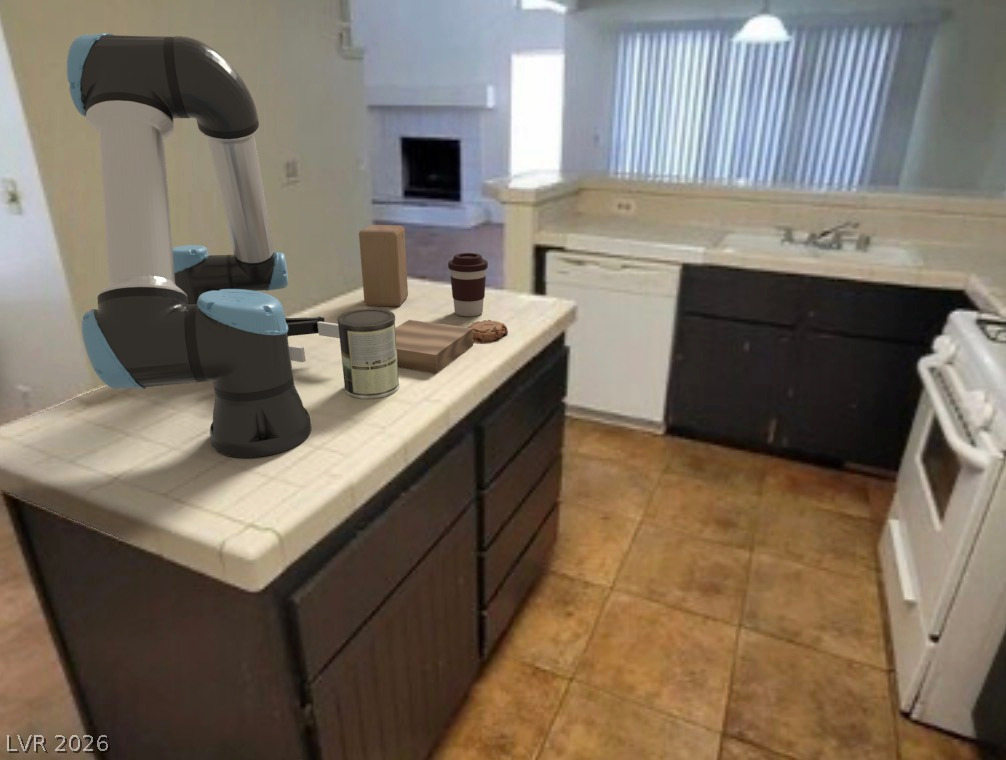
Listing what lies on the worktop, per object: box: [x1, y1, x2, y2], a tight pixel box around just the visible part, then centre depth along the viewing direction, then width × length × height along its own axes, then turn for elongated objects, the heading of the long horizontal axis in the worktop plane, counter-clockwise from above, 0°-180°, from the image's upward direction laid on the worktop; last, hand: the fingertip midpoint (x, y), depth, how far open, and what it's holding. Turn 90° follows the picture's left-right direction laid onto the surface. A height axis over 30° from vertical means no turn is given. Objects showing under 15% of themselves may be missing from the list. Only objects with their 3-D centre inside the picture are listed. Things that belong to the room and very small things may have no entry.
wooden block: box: [358, 224, 409, 307], centre depth 171 cm, size 10×10×20 cm
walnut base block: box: [395, 319, 474, 374], centre depth 138 cm, size 18×16×4 cm
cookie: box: [467, 319, 509, 343], centre depth 150 cm, size 10×11×3 cm
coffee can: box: [336, 308, 400, 400], centre depth 118 cm, size 10×10×14 cm
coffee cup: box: [447, 252, 489, 318], centre depth 163 cm, size 10×10×15 cm
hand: (326, 343), depth 121 cm, fingers open, 13 cm apart
